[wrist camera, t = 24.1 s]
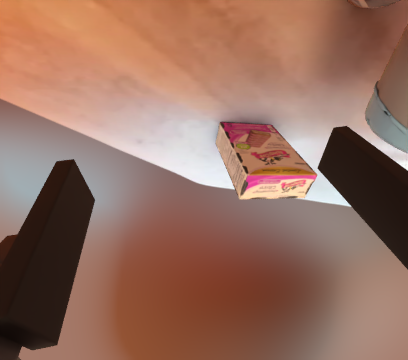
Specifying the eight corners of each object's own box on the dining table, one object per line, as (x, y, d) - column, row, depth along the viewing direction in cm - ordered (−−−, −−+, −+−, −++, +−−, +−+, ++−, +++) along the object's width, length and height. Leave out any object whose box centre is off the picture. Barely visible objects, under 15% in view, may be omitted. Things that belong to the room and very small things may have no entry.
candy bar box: (272, 122, 44) (320, 174, 32) (264, 144, 47) (305, 199, 35) (218, 119, 41) (247, 175, 29) (214, 143, 45) (238, 201, 32)
